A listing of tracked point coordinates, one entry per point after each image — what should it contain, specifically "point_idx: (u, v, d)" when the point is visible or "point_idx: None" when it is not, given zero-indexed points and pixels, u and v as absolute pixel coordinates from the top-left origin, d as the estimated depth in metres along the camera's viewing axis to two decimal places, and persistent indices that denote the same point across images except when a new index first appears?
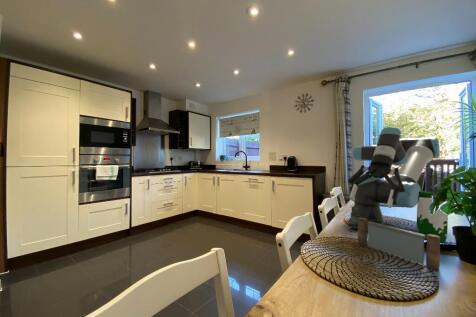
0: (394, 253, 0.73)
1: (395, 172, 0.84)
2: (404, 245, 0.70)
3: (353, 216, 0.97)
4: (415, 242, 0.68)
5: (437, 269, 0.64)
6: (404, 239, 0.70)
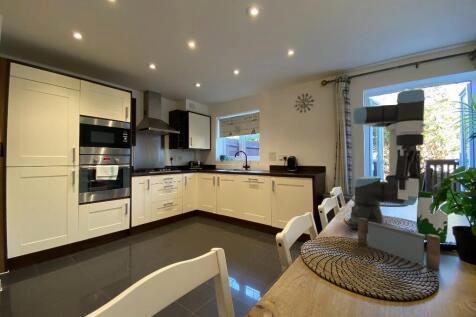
0: (394, 253, 0.73)
1: (419, 156, 0.78)
2: (404, 245, 0.70)
3: (353, 216, 0.97)
4: (415, 242, 0.68)
5: (437, 269, 0.64)
6: (404, 239, 0.70)
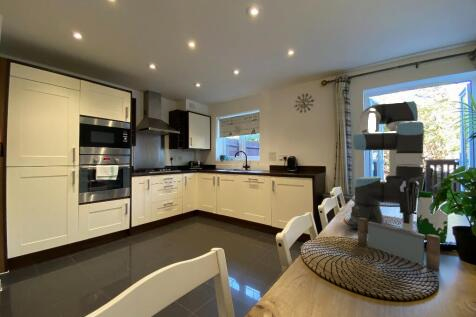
0: (394, 253, 0.73)
1: (417, 189, 0.77)
2: (404, 245, 0.70)
3: (353, 216, 0.97)
4: (415, 242, 0.68)
5: (437, 269, 0.64)
6: (404, 239, 0.70)
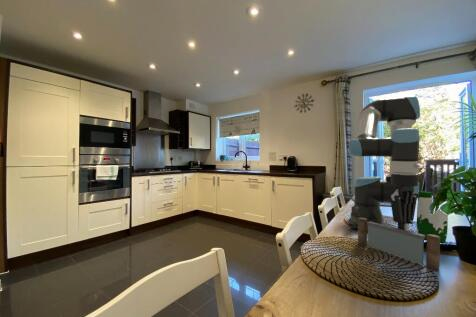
0: (394, 253, 0.73)
1: (415, 198, 0.74)
2: (403, 245, 0.70)
3: (353, 216, 0.97)
4: (415, 242, 0.68)
5: (437, 269, 0.64)
6: (404, 239, 0.70)
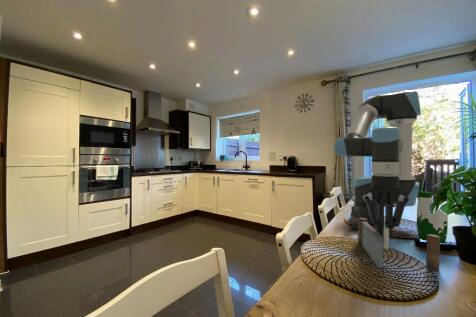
0: (369, 254, 0.72)
1: (403, 203, 0.67)
2: (372, 246, 0.69)
3: (353, 216, 0.97)
4: (376, 244, 0.66)
5: (437, 269, 0.64)
6: (372, 240, 0.69)
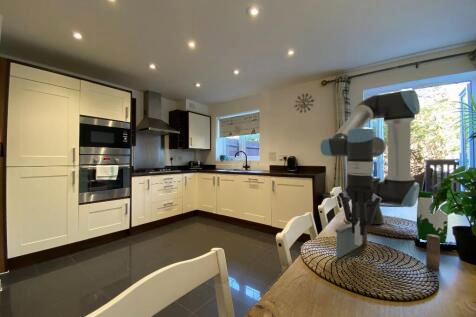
0: None
1: (373, 203, 0.68)
2: None
3: None
4: None
5: (437, 269, 0.64)
6: None
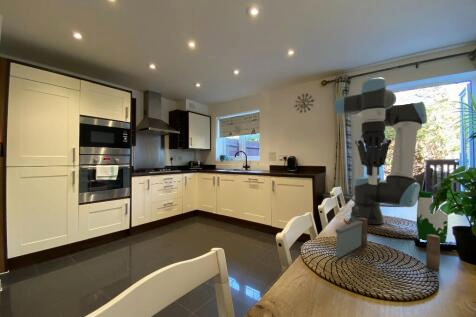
0: None
1: (387, 144, 0.79)
2: None
3: (353, 216, 0.97)
4: None
5: (437, 269, 0.64)
6: None
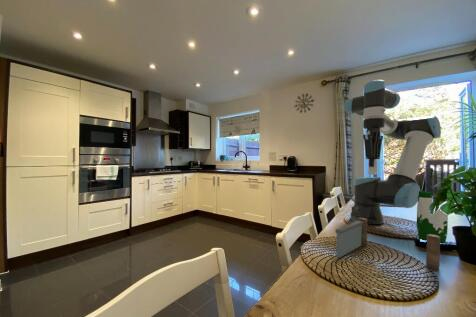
0: None
1: (381, 139, 0.91)
2: None
3: (353, 216, 0.97)
4: None
5: (437, 269, 0.64)
6: None
